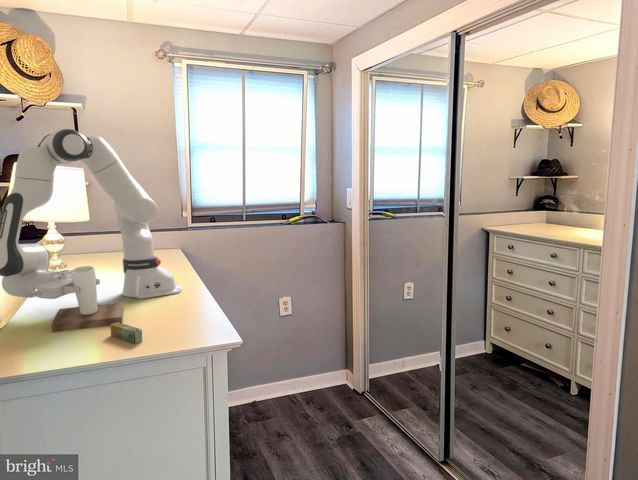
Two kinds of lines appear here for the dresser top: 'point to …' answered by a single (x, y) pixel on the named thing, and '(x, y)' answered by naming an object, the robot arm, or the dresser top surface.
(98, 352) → the dresser top surface
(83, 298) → the drinking glass
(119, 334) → the medication box
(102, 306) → the walnut board
